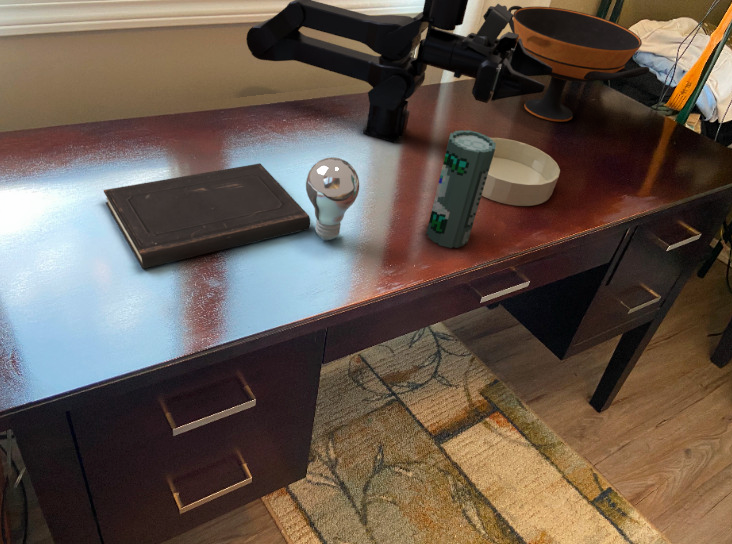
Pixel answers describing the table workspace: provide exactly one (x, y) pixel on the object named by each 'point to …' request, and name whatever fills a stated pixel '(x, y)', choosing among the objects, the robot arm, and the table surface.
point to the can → (460, 187)
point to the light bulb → (331, 194)
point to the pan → (520, 174)
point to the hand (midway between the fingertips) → (548, 79)
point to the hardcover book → (203, 213)
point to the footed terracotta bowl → (573, 51)
